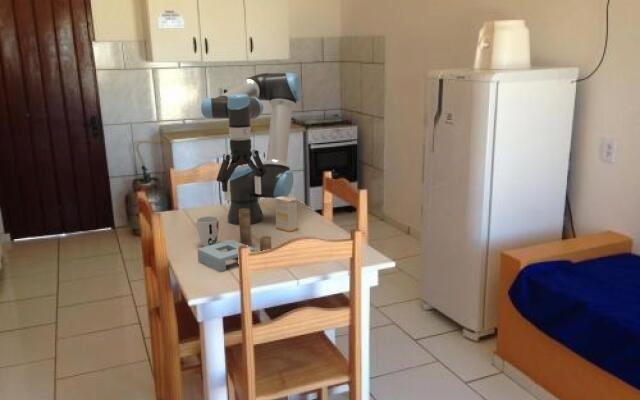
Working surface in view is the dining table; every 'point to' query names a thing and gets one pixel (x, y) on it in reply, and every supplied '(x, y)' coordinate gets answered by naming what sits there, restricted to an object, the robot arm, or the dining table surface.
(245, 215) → the long pin
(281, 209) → the supplement box
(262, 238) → the short pin
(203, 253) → the square hole board
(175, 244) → the dining table surface
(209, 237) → the cup
